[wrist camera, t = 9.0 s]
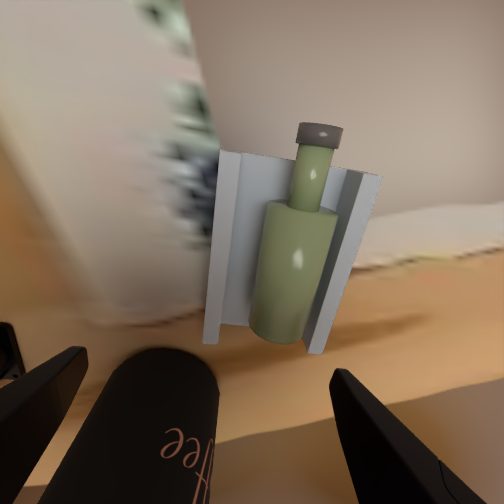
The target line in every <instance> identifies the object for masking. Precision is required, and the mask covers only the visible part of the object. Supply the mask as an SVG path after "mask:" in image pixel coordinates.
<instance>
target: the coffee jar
mask: <svg viewBox="0 0 504 504" xmlns="http://www.w3.org/2000/svg"><path fill="white" fill-rule="evenodd" d="M219 395H220V393H219V389H218V386H217V382H216V379H215V377H214V376H213V375H212V372H211V371H210V370H209V368H208V367H207V366H206V365H205V363H204V362H202V361H201V360H199V359H198V358H196V357H195V356H193V355H191V354H189V353H186V352H183V351H180V350H175V349H166V348H160V349H152V350H147V351H144V352H142V353H140V354H137V355H135V356H134V357H131V358H129V359H127V360H126V361H124V362H123V363H122V364H121V365H120V366H119V367H118V368H117V369H115V370H114V371H113V373H112V375H111V376H110V378H109V380H108V382H107V383H106V385H105V387H104V388H103V390H102V392H101V394H100V395H99V397H98V399H97V401H96V402H95V404H94V406H93V408H92V409H91V411H90V413H89V415H88V416H87V418H86V420H85V422H84V423H83V425H82V427H81V429H80V430H79V432H78V434H77V435H76V437H75V439H74V441H73V442H72V444H71V446H70V448H69V449H68V451H67V453H66V455H65V456H64V458H63V460H62V462H61V463H60V465H59V467H58V469H57V470H56V472H55V474H54V476H53V477H52V479H51V481H50V483H49V484H48V486H47V488H46V489H45V492H44V493H43V495H42V496H41V498H40V500H39V502H38V503H37V504H209V498H210V488H211V477H212V467H213V457H214V446H215V437H216V426H217V416H218V406H219Z"/></svg>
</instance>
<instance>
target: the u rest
mask: <svg viewBox="0 0 504 504" xmlns="http://www.w3.org/2000/svg"><path fill="white" fill-rule="evenodd" d="M294 166H295V161H294V160H288V159H282V158H275V157H269V156H263V155H257V154H251V153H245V152H238V151H232V150H226V149H220V157H219V168H218V179H217V189H216V200H215V211H214V222H213V233H212V244H211V255H210V266H209V276H208V287H207V298H206V309H205V320H204V331H203V342H202V344H212V345H218V340H219V332H220V324H228V325H238V326H248V327H250V325H249V322H248V318H249V312H250V306H251V300H252V294H253V288H254V282H255V276H256V270H257V264H258V258H259V252H260V247H261V241H262V235H263V229H264V223H265V217H266V211H267V205H268V201H270V200H275V199H286V200H288V197H289V192H290V187H291V182H292V177H293V171H294ZM382 179H383V176H379V175H375V174H370V173H367V172H363V171H357V170H351V169H344V168H338V167H332V166H330V169H329V173H328V176H327V180H326V184H325V188H324V192H323V196H322V200H321V204H320V206H323V207H326V208H329V209H331V210H333V211H335V212H336V213H338V215H339V216H338V219H337V223H336V226H335V230H334V233H333V237H332V240H331V244H330V247H329V251H328V254H327V258H326V261H325V265H324V268H323V272H322V275H321V279H320V282H319V286H318V289H317V293H316V296H315V300H314V303H313V307H312V310H311V314H310V317H309V321H308V324H307V328H306V331H305V334H304V336H303V340H304V343H305V347H306V350H307V353H310V354H321V355H322V353H323V350H324V347H325V344H326V341H327V338H328V335H329V333H330V330H331V327H332V324H333V321H334V318H335V315H336V312H337V309H338V307H339V304H340V301H341V298H342V295H343V292H344V289H345V286H346V283H347V280H348V278H349V275H350V272H351V269H352V266H353V263H354V260H355V257H356V254H357V251H358V249H359V246H360V243H361V240H362V237H363V234H364V231H365V228H366V225H367V222H368V220H369V217H370V214H371V211H372V208H373V205H374V202H375V199H376V196H377V193H378V190H379V187H380V185H381V182H382Z"/></svg>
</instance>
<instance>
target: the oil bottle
mask: <svg viewBox="0 0 504 504" xmlns="http://www.w3.org/2000/svg"><path fill="white" fill-rule="evenodd" d="M342 132H343V128H340V127H336V126H331V125H325V124H318V123H305V122H303V123H299V128H298V133H297V138H296V143H299V147H298V152H297V157H296V161H295V166H294V171H293V177H292V182H291V187H290V192H289V197H288V200H286V199H275V200H270V201H268V205H267V211H266V217H265V223H264V229H263V235H262V241H261V247H260V252H259V258H258V264H257V270H256V276H255V282H254V288H253V294H252V300H251V306H250V312H249V318H248V322H249V325H250V327H251V329H252V330H253V332H254V333H255V334H257V335H258V336H259V337H261V338H262V339H264V340H266V341H269V342H272V343H277V344H291V343H295V342H297V341H299V340H300V339H302V337H303V336H304V334H305V331H306V328H307V324H308V321H309V317H310V314H311V310H312V307H313V303H314V300H315V296H316V293H317V289H318V286H319V282H320V279H321V275H322V272H323V268H324V265H325V261H326V258H327V254H328V251H329V247H330V244H331V240H332V237H333V233H334V230H335V226H336V223H337V219H338V216H339V215H338V213H336V212H335V211H333V210H331V209H329V208H326V207H323V206H320V204H321V200H322V196H323V192H324V188H325V184H326V180H327V176H328V173H329V169H330V164H331V160H332V157H333V153H334V149H338V148H339V144H340V140H341V136H342Z"/></svg>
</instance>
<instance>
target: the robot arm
mask: <svg viewBox="0 0 504 504" xmlns="http://www.w3.org/2000/svg"><path fill="white" fill-rule="evenodd" d="M87 370H88V356H87V349H86V348H85V347H82V346H72V347H69V348H68V349H66V350H64V351H63V352H61V353H59V354H58V355H56V356H54V357H53V358H51V359H49V360H48V361H46V362H44V363H43V364H41V365H39V366H38V367H36V368H34V369H33V370H31V371H29V372H28V373H26V374H25V373H24V369H23V366H22V363H21V359H20V356H19V352H18V349H17V345H16V342H15V338H14V335H13V332H12V328H11V326H10V325H8V324H6V323H0V380H1V379H12V380H14V381H12V382H11V383H9V384H7V385H6V386H4V387H2V388H1V389H0V504H12V503H13V502H14V500H15V499H16V497H17V495H18V494H19V492H20V490H21V489H22V487H23V486H24V484H25V482H26V481H27V479H28V477H29V476H30V474H31V472H32V471H33V469H34V467H35V466H36V464H37V462H38V461H39V459H40V457H41V456H42V454H43V452H44V451H45V449H46V448H47V446H48V444H49V443H50V441H51V439H52V438H53V436H54V434H55V433H56V431H57V429H58V428H59V426H60V424H61V423H62V421H63V419H64V417H65V415H66V413H67V411H68V409H69V407H70V405H71V403H72V401H73V399H74V397H75V395H76V393H77V391H78V389H79V387H80V385H81V382H82V380H83V378H84V376H85V374H86V372H87ZM329 390H330V396H331V401H332V406H333V411H334V416H335V421H336V426H337V430H338V434H339V438H340V442H341V445H342V448H343V451H344V455H345V458H346V462H347V465H348V468H349V472H350V475H351V478H352V482H353V485H354V488H355V492H356V495H357V499H358V502H359V504H487V503H486V502H484V500H482V499H481V498H480V497H479V496H478V495H477V494H476V493H474V492H473V491H472V490H471V489H470V488H469V487H468V486H467V485H466V484H465V483H464V482H463V481H462V480H461V479H460V478H459V477H458V476H457V475H455V474H454V473H453V472H452V471H451V470H450V469H449V468H448V467H447V466H446V465H445V464H444V463H443V462H442V461H441V460H438V457H437V456H436V455H435V454H434V453H433V452H432V451H431V450H430V449H429V448H427V447H426V446H425V445H424V444H423V443H422V442H421V441H420V440H419V439H418V438H417V437H416V436H415V435H414V434H413V433H412V432H411V431H410V430H409V429H408V428H407V427H406V426H405V425H404V424H403V423H402V422H401V421H400V420H399V419H398V418H396V416H395V415H393V413H392V412H390V411H389V410H388V409H387V408H386V407H385V406H384V405H383V404H382V403H381V402H380V401H379V400H378V399H377V398H376V397H375V396H374V395H373V394H372V393H371V392H370V391H369V390H368V389H367V388H366V387H365V386H364V385H363V384H362V383H361V382H360V381H359V380H358V379H357V378H356V377H354V376H353V375H352V374H351V373H350V372H349V371H348V370H347V369H341V368H336V369H335V371H334V373H333V376H332V378H331V381H330V384H329Z"/></svg>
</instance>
